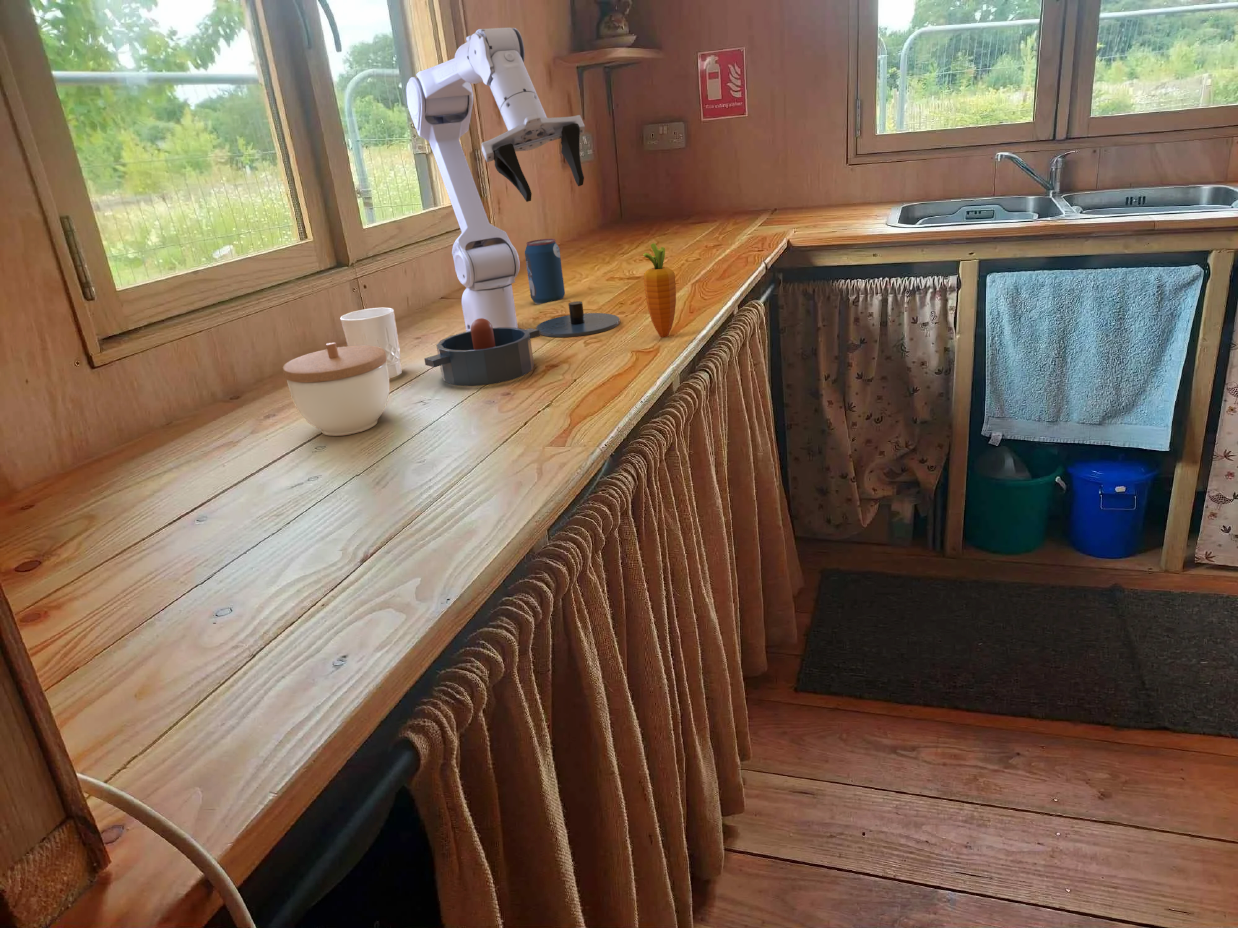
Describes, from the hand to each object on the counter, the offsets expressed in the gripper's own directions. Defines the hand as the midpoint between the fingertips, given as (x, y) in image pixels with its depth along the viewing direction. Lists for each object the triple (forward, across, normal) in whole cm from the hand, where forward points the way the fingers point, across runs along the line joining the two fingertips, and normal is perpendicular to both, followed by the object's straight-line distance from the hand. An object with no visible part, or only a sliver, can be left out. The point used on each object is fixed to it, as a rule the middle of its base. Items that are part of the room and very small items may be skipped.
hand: (555, 190), depth 120 cm
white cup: (+10, -31, +23) cm, 40 cm away
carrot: (+20, +12, +20) cm, 31 cm away
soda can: (-6, +5, +57) cm, 57 cm away
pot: (+17, -16, +16) cm, 28 cm away
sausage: (+16, -16, +16) cm, 28 cm away
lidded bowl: (+21, -37, +4) cm, 42 cm away
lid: (+8, +3, +33) cm, 34 cm away
